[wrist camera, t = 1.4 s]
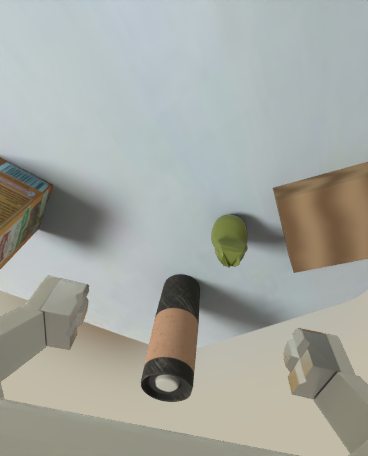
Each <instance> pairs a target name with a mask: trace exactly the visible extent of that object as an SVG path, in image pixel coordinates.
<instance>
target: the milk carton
mask: <svg viewBox="0 0 368 456" xmlns="http://www.w3.org/2000/svg"><path fill="white" fill-rule="evenodd" d="M52 186H53V185H52V184H51V183H49V182H47V181H45V180H43V179H41V178H39V177H37V176H35V175H33V174H31V173H29V172H27V171H25V170H23V169H21V168H19V167H17V166H15V165H13V164H11V163H10V162H8V161H6V160H4V159H2V158H0V269H1V268H2V267H3V266H4V265H5V264H6V263H7V262H8V261H9V260H10V259H11V258H12V257H13V255H14V254H15V253H16V252H17V251H18V250H19V249H20V248H21V247H22V246H23V245H24V244H25V243H26V242H27V241H28V240H29V239H30V238H31V236H32V235H33V234H34V233H35V232H36V231H37V230H38V228H39V225H40V222H41V219H42V216H43V213H44V210H45V207H46V204H47V201H48V198H49V195H50V192H51V189H52Z"/></svg>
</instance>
